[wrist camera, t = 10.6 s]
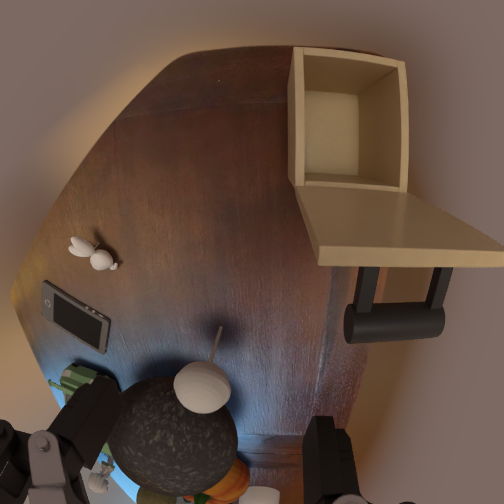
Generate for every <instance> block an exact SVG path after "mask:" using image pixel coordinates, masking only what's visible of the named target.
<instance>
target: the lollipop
mask: <svg viewBox="0 0 504 504" xmlns="http://www.w3.org/2000/svg"><path fill="white" fill-rule="evenodd" d="M222 328H223V327H222V326H220V327H219V330H218V333H217V336H216V339H215V342H214V345H213V349H212V352H211V355H210V358H209V361H208V362H206V361H197V362H193V363H190V364H188V365H186V366H185V367H184V368H183V369H182V370H181V371H180V372H179V373H178V374H177V375H176V377H175V380H174V389H175V392H176V395H177V398H178V399H179V401H180V402H181V404H182V405H183V406H184V407H186V408H187V409H189V410H190V411H193V412H196V413H204V414H205V413H211V412H214V411H216V410H218V409H219V408H221V407H222V406H223V405H224V404H225V403H226V402H227V401H228V400H229V397H230V394H231V388H230V384H229V380H228V378H227V376H226V374H225V373H224V371H223V370H222V369H221V368H219V367H218V366H216V365H215V364H213V363H212V361H213V358H214V355H215V351H216V348H217V345H218V341H219V338H220V335H221V332H222Z"/></svg>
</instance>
